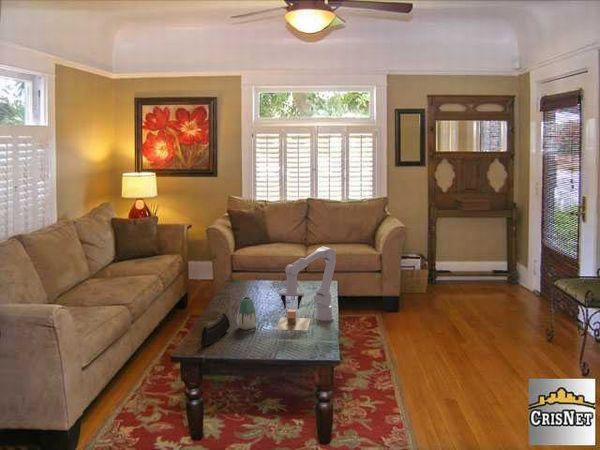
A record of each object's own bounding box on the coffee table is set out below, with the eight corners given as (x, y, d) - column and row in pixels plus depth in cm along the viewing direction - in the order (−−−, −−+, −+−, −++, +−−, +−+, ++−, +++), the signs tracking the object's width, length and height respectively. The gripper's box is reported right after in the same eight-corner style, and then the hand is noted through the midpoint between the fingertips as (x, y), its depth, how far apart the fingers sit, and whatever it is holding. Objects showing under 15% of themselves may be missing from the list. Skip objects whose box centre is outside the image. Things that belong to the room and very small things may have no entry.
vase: (254, 331, 343) (253, 300, 341) (234, 330, 346) (233, 299, 343) (259, 325, 355) (259, 295, 352) (240, 324, 357) (239, 294, 354)
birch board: (310, 319, 366) (310, 318, 366) (307, 332, 343) (307, 330, 342) (281, 319, 368) (281, 317, 368) (275, 331, 344) (275, 329, 344)
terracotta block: (296, 316, 356) (296, 309, 355) (295, 318, 351) (295, 311, 351) (288, 316, 356) (288, 309, 356) (287, 318, 352) (287, 311, 351)
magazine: (203, 332, 313) (226, 302, 339) (197, 332, 313) (221, 301, 339) (208, 360, 319) (230, 328, 345) (202, 359, 320) (225, 327, 346)
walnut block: (296, 323, 356) (296, 316, 356) (295, 325, 352) (295, 318, 351) (288, 322, 357) (288, 316, 356) (287, 325, 352) (287, 318, 352)
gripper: (278, 286, 348) (278, 309, 350) (303, 287, 347) (303, 310, 348) (279, 283, 355) (280, 306, 357) (304, 284, 354) (304, 307, 355)
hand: (291, 308), depth 353 cm, fingers open, 7 cm apart
